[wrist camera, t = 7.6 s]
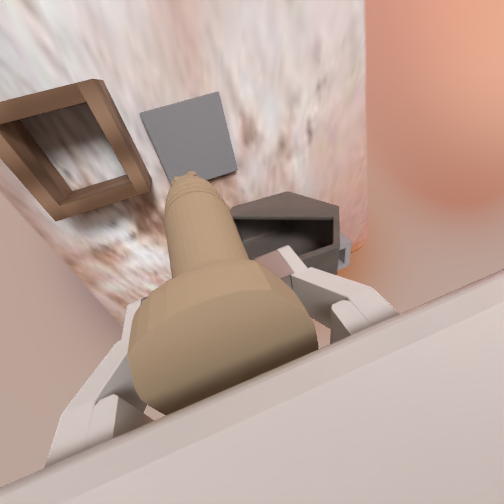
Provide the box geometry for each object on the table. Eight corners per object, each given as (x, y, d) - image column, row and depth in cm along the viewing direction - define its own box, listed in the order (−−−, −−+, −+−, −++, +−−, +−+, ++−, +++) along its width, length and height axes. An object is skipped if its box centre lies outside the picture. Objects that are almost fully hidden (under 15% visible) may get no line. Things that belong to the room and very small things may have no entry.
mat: (139, 112, 28) (139, 113, 27) (217, 91, 29) (218, 91, 29) (173, 188, 34) (173, 190, 34) (236, 168, 36) (237, 170, 35)
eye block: (-8, 108, 24) (-40, 111, 20) (102, 80, 25) (92, 78, 22) (68, 204, 31) (55, 221, 27) (151, 179, 33) (150, 191, 29)
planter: (338, 189, 38) (341, 279, 23) (335, 229, 43) (335, 325, 27) (242, 192, 43) (191, 267, 28) (248, 227, 48) (208, 307, 33)
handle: (181, 234, 20) (205, 438, 8) (138, 162, 16) (69, 360, 4) (232, 213, 20) (324, 379, 9) (202, 137, 16) (301, 256, 5)
